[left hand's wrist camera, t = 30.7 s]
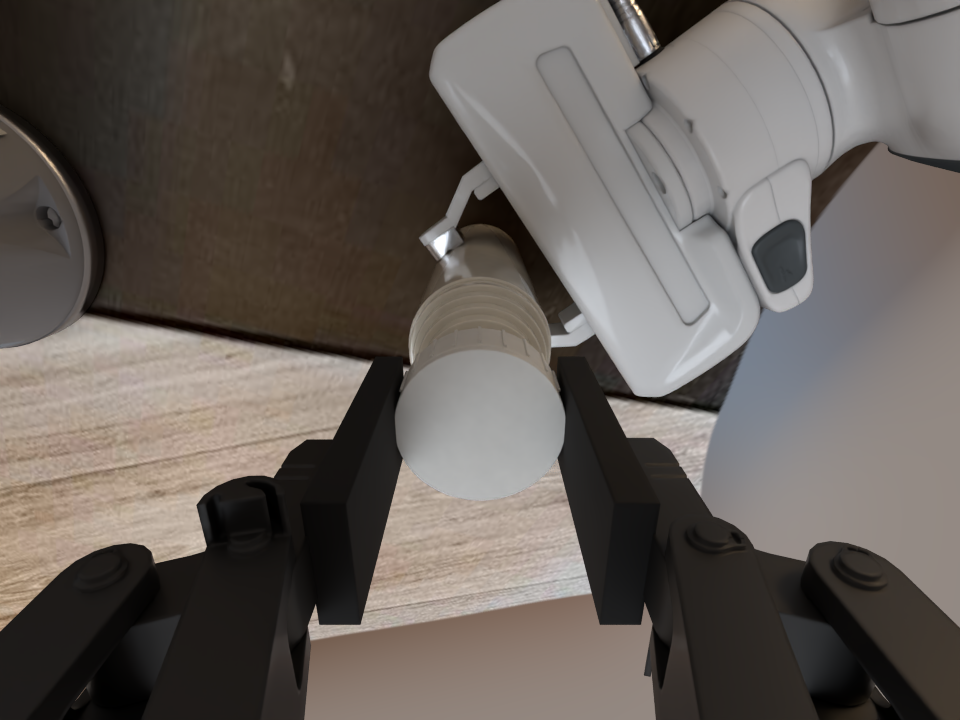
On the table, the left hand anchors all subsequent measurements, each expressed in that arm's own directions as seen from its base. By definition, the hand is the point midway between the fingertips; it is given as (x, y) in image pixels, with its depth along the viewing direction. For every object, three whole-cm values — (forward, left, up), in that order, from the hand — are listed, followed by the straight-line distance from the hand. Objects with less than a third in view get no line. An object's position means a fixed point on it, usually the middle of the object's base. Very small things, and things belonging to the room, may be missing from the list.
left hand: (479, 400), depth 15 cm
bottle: (0, 0, -19) cm, 19 cm away
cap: (0, 0, +1) cm, 1 cm away
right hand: (-1, 0, -13) cm, 13 cm away
